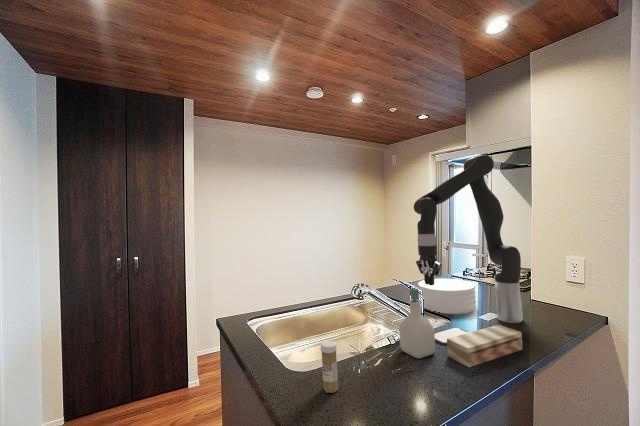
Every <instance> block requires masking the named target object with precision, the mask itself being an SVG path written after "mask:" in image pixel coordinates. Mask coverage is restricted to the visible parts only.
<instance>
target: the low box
mask: <svg viewBox="0 0 640 426" xmlns="http://www.w3.org/2000/svg"><path fill="white" fill-rule="evenodd" d="M469 332H470V331H469ZM522 334H523V333H522V331H519V330H516V329H514V328H510V327H507V326H504V325H502V324H496V325H492V326H490V327H486V328H485V327H484V328H481V329H477V330H475V331H471V332H470V333H466V334H463V335H459V336H455V337H452V338H448V339H447V345H446V347H447V357H449V358H451V359H453V360H454V361H456V362H458V363H459V364H461V365H464V366H466V367H468V368H471V367H475V366H477V365H480V364H484V363H486V362H489V361H492V360H495V359H498V358H501V357H505V356H507V355H510V354H513V353H516V352H519V351H522V350H523V349H524V348H523V335H522Z"/></svg>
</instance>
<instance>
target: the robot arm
mask: <svg viewBox="0 0 640 426" xmlns="http://www.w3.org/2000/svg"><path fill="white" fill-rule="evenodd" d="M494 166H495V162H494V159H493V158H492V157H491V156H490V155H487V154H479V155H475V156H472V157H470V158H468V159H466V160H465V161H464V163H463V171H461V172H460V173H457V174H456V175H454V176H452V177H450V178H449V179H447V180H445V181H443V182H442V183H441V184H439V185H438V186H436V187H435V188H433V190H431V191H430V192H428V193H426V194H424V195H423V196H421V197H419V198H418V199H417V200H416V201H415V202H414V204H413V210H414V212H415V213H416V214H418V215H420V220H419V221H418V222H417V225H416V226H417V250H418V256H419V259H418V260H415V264H416V266H417V268H418V270H419V271H418V272H419V273H420V274H423V275H422V276H423V277H424V279H423V280H425V284H429V285H434V279H435V277H436V276H438V275H439V273H440V271H441V268H442V263H441V262H440V263H439V262H438V260H437V255H438V247H437V236H436V230H435V229H436V227H435V223H436V222H435V221H436V216H437V209H438V207H437V205H440V204H443V203H444V202H446V201H448V200H449V199H450V198H452V197H453V196H455V195H456V194H457V193H458V192H459V191H461V190H462V189H464V188H465V187H467V186H468V185H469V187H470V189H471V191H472V195H473V196H472V197H473V199H474V202H475V205H476V208H477V212H478V215H479V219H480V221H481V225H482V229H483V233H484V236H485V241H486V247H487V253H488V257H489V259H490V261H491V263H493V264H495V265H497V266H501V271H500V272H498V273H495V275H494V286H495V299H496V300H495V301H496V302H495V303H496V317H497V320H499V321H501V322H503V323H508V324H509V323H510V324H520V323H522V321H524V315H523V302H522V301H523V300H522V297H521V290H520V289H521V288H520V287H521V286H520V277H521V273H522V267H521V263H522V262H521V260H522V259H521V254H520V253H521V252H520V251H519V249H518V248H517V247H515V246H512V245H504V243H503V240H502V237H501V236H502V235H501V229H502V226H503V223H504V213H503V209H502V206H501V202H500V200H499V199H498V197H497V196H496V195H495V194H494V193H493V192H492V190H491V189H490V188H489V187H488V186H487V183H486V180H485V176H486V175H489V174H490V173H491V172H492V170H493V169H494Z"/></svg>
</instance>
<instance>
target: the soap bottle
mask: <svg viewBox="0 0 640 426" xmlns="http://www.w3.org/2000/svg"><path fill="white" fill-rule="evenodd" d="M409 293H410V299H409V300H408V301H407V303H408V304H409V306H410V307H409V309H410V312H409V315H408V314H407V316H406V317H405V318H404V319H403V320H402V321H401V322H400V324H399V327H398V328H399V345H400V349H401V350H402V351H403V352H404V353H406V354H407V355H410V356H412V357H413V358H416V359H419V360H420V359H423V358H425V357H428V356H431V355H434V353H435V352H436V342H435V328H434V326H433V324H432V323H431V322H430V321H429V320H428V319H427V317H425V316H424V315H423V314H422V313H421V306H420V304H421V303H422V302H421V301H420V300H419V294H420V295H422V294H421V293H420V292H419V291H418V288H409ZM422 296H423V295H422Z"/></svg>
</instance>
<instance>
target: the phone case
mask: <svg viewBox="0 0 640 426" xmlns="http://www.w3.org/2000/svg"><path fill="white" fill-rule="evenodd" d="M466 333H470V331H468V330H465V329H463V328H460V327H452V328H449V329H446V330H442V331H439V332H436V333H435V332H434V334H435V343H437V344H439V345H441V346H447V339H448V338H452V337H455V336H459V335H463V334H466Z"/></svg>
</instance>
